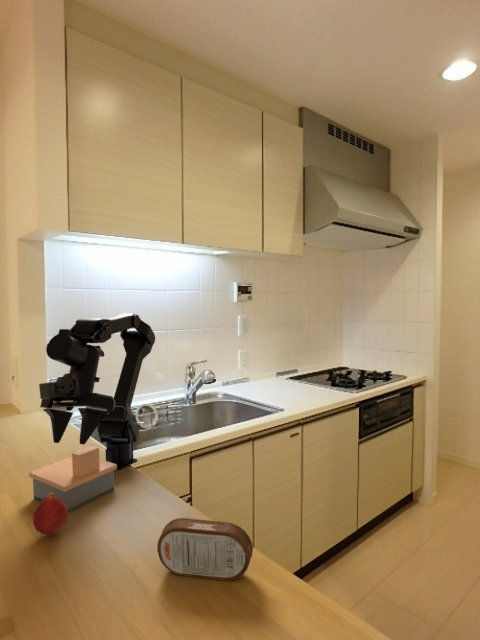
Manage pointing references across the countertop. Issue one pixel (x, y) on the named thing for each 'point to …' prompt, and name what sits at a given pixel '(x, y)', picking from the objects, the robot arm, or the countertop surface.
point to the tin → (205, 549)
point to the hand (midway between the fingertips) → (68, 443)
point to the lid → (74, 469)
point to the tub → (77, 491)
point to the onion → (50, 515)
